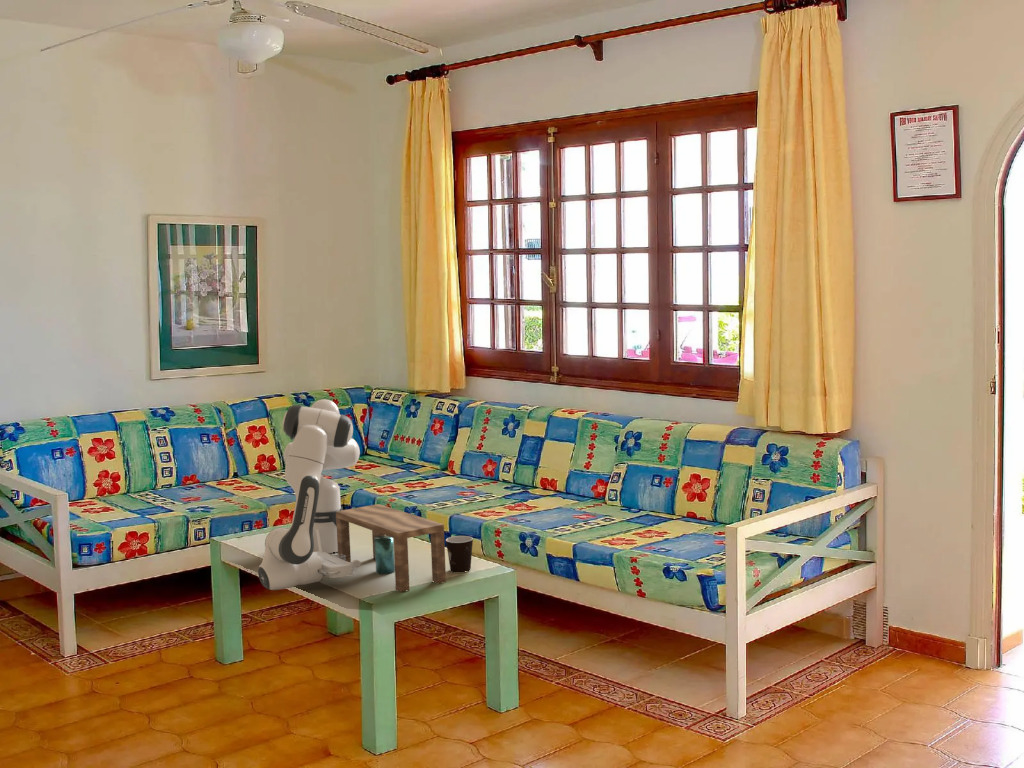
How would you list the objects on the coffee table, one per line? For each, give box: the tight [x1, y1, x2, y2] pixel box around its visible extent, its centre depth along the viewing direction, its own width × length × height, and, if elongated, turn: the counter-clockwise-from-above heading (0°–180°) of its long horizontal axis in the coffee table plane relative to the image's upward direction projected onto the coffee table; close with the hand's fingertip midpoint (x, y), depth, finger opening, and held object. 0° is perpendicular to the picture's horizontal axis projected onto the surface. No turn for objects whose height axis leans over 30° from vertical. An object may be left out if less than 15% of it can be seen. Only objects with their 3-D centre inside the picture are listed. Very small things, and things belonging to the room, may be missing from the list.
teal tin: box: [374, 535, 395, 575], centre depth 342 cm, size 6×6×11 cm
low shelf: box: [336, 503, 447, 593], centre depth 339 cm, size 16×40×18 cm, turn 36°
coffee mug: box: [445, 535, 474, 573], centre depth 339 cm, size 12×9×10 cm
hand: (351, 559), depth 335 cm, fingers open, 8 cm apart
